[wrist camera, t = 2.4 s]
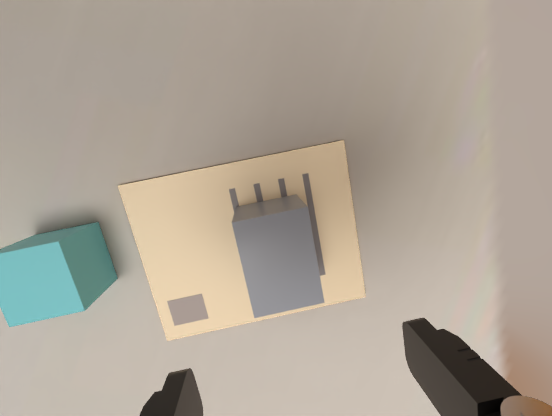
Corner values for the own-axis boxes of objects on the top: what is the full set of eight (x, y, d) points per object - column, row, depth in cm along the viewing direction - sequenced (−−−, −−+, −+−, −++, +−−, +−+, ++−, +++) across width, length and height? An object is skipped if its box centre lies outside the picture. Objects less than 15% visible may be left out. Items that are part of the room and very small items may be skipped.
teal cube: (35, 234, 23) (-22, 258, 18) (98, 221, 23) (58, 241, 18) (58, 290, 24) (9, 327, 19) (118, 277, 24) (84, 310, 19)
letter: (119, 185, 23) (117, 185, 22) (342, 140, 23) (343, 140, 23) (168, 338, 26) (167, 341, 25) (364, 295, 26) (365, 297, 26)
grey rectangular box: (235, 206, 23) (231, 222, 19) (296, 194, 24) (307, 206, 19) (254, 284, 25) (254, 318, 20) (310, 272, 25) (324, 302, 20)
